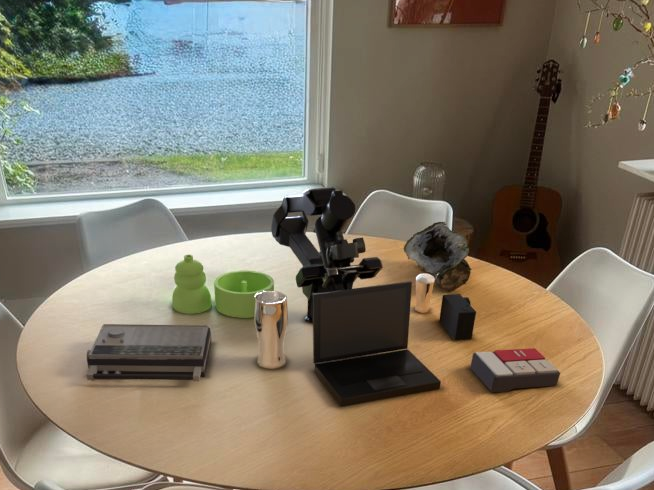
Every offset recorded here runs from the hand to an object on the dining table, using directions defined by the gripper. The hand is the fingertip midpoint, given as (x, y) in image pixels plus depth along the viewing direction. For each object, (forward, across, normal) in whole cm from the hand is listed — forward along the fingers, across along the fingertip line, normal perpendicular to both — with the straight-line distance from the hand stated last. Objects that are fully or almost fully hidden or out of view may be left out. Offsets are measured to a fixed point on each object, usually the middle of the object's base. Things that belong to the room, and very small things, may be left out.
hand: (348, 308), depth 159 cm
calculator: (+24, +28, -11) cm, 38 cm away
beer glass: (+8, -18, +5) cm, 21 cm away
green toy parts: (-14, -20, +28) cm, 37 cm away
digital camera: (+7, +28, +6) cm, 30 cm away
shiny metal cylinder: (-2, +26, +15) cm, 30 cm away
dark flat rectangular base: (+18, 0, -5) cm, 19 cm away
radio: (+2, -43, +11) cm, 45 cm away
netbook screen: (+6, 0, -6) cm, 8 cm away
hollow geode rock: (-14, +39, +27) cm, 49 cm away
